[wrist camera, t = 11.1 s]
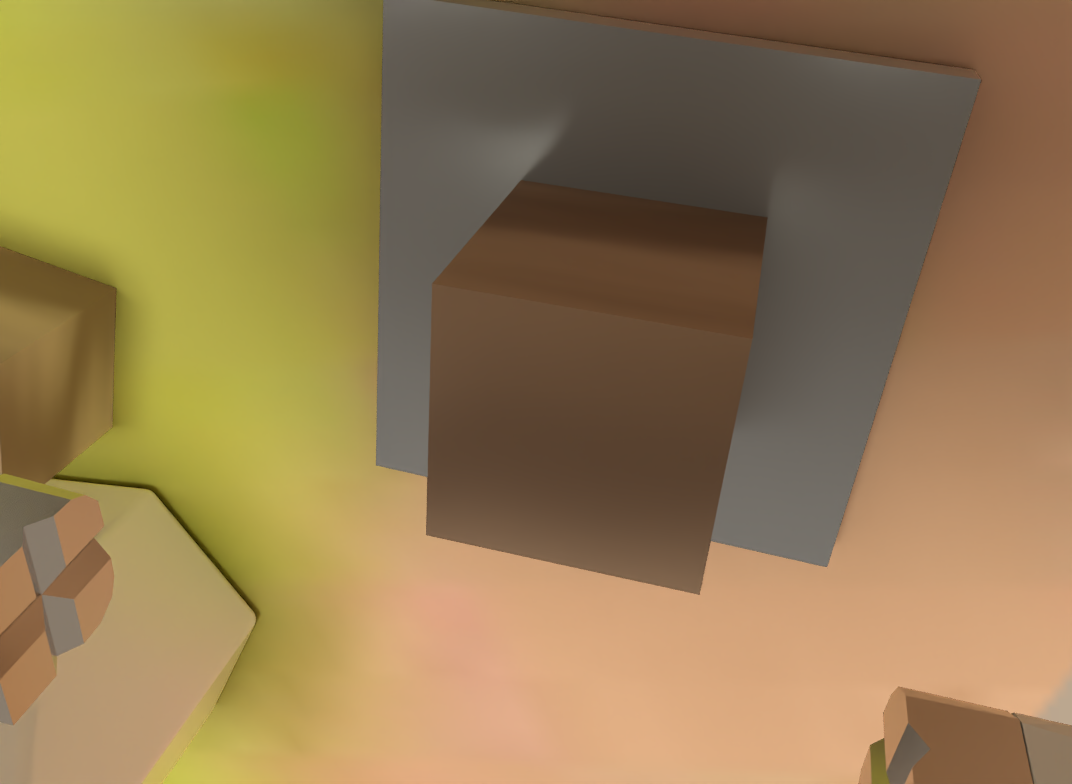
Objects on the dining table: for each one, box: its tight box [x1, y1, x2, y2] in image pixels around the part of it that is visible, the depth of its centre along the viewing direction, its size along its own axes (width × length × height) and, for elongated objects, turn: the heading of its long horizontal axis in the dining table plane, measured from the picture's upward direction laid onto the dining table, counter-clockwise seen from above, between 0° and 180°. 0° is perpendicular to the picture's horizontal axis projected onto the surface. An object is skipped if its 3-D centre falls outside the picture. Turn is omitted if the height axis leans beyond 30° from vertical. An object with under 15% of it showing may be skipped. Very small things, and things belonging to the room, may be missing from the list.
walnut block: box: [426, 180, 768, 595], centre depth 17 cm, size 4×4×5 cm
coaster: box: [376, 0, 981, 567], centre depth 19 cm, size 10×10×1 cm
